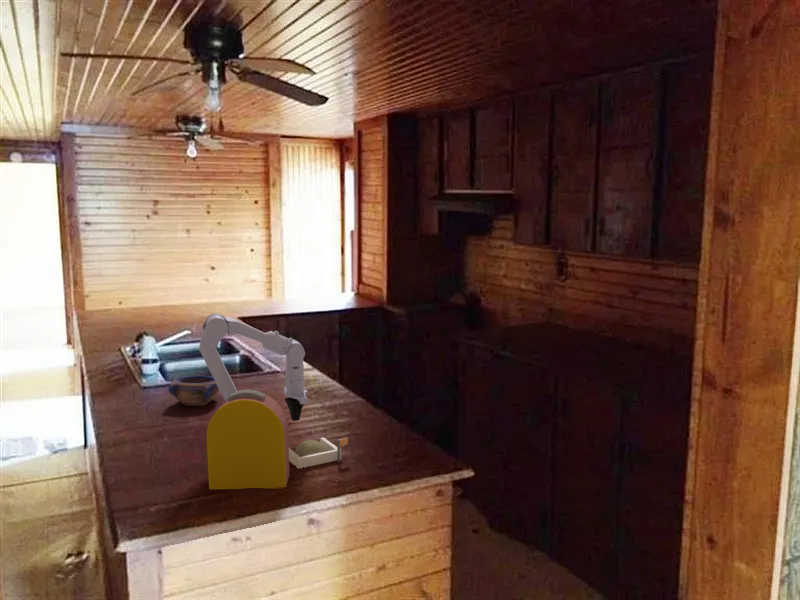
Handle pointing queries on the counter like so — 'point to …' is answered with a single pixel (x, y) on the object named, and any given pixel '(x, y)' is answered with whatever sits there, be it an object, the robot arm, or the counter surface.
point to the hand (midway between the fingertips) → (295, 420)
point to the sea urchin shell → (309, 448)
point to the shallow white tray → (319, 454)
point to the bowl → (194, 390)
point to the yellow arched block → (248, 443)
